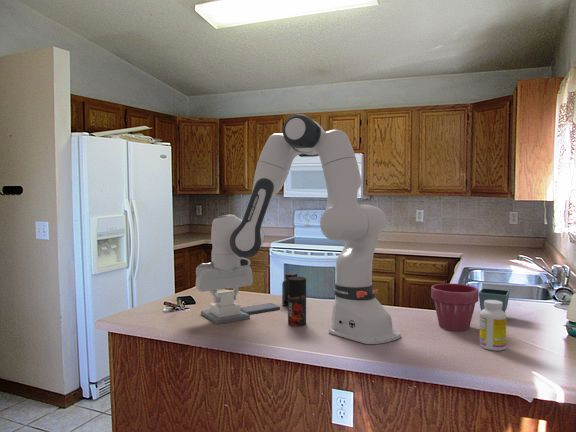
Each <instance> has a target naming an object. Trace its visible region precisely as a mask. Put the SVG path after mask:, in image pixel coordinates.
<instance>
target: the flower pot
mask: <svg viewBox="0 0 576 432" xmlns="http://www.w3.org/2000/svg"><path fill="white" fill-rule="evenodd" d="M478 293H479V300H478V302H479V307H480V312H481V311H482V310H483V309H485V306H484V301H485V300H497V301H501V302H502V303H503V307H502V311H504V312H505V313H506V311H507V308H508V305H509V300H510V290H507V289H505V290H504V289H495V288H485V287H484V288H483V287H482V288H481V289H480V290H479V291H478Z"/></svg>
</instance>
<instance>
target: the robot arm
mask: <svg viewBox="0 0 576 432" xmlns="http://www.w3.org/2000/svg"><path fill="white" fill-rule="evenodd" d="M297 156H299V157H300V158H307V157H308V158H310V157H312V158H314V157H319V159H320V163H321V168H322V172H323V175H324V180H325V185H326V191H327V199H326V200H327V201H326V202H327V203H326V207H325V210H324V212H322V214H321V217H320V221H319V226H320V230H321V232H322V235H323V236H324V237H325V238H326V239H328V240H332V241H336V242H345V244H344V246H343V249H342V250H341V252H340V253H339V254H338V256H337V258H336V260H335V263H336V265H335V266H336V267H335V268H336V270H335V275H336V276H335V280H336V281H335V283H334V287H333V290H334V295H335V300H334V303H333V305H332V314H331V325H330V328H329V329H328V333H329V334H331V335H334V336H338V337H341V338H345V339H348V340H350V341H351V340H352V341H356V342H357V343H361V344H365V345H377V344H385V343H390V342H393V341H396V340H398V339H399V338H400V337H401V335H402V334H401V332H399V331H397V330H395V329H394V328H393V321H392V316H391V313H389V312H388V311H387V309H385V308H384V306H383V305H382V303H381V302H380V301H379V300H378V299H377V298H376V297H377V295H376V294H378V293H379V292H378V291H379V289H375V287H374V284H373V281H372V278H373V258H374V254H375V249H376V247H377V244H378V240H379V238H380V236H381V234H382V233H383V232H384V231H385V228H386V226H387V217H386V214H385V212H384V211H383V210H382V209H381V208H380V207H378V206H374V205H371V204H367V203H366V204H359V203H358V192H359V189H360V188H361V186H362V182H363V180H362V176H361V173H360V169H359V165H358V161H357V157H356V154H355V151H354V148H353V145H352V143H351V141H350V139H349V137H348V135H347V133H346V132H344V131H343V130H340V129H331V130H326V129H325V128H323V126H321V125H320V124H319V122H317V121H315V120H314V119H312V118H311V117H309V116H307V115H305V114H293V115H292V116H290V117H288V118H287V119H286V120H285V122H284V124H283V127H282V133H278V132H277V133H273V134H271V135H269V137H268V139H267V141H266V142H265V144H264V146H263V148H262V150H261V153H260V155H259V157H258V161H257V164H256V167H255V173H254V178H253V184H252V190H251V195H250V199H249V201H248V203H247V207H246V209H245V212H244V216H243V218H242V219H241V218H239V217H238V216H236V215H235V214H223V215H220V216H216V217H215V218H214V219H213V220H212V223H211V224H212V225H211V233H210V235H211V237H210V239H211V240H210V241H211V244H212V249H211V255H210V256H211V262H207V263H200V264H199V265H197V267H196V268H195V276H196V277H195V278H196V279H195V289H196V291H198V292H200V293H201V292H202V293H203V292H204V293H205V292H210V294H211V296H212V297H213V303H219V302H220V301H219V300H220V298H219V297H217V296H216V293H217V292H218V291H219V290H225V289H232V290H233V291H232V292H233V293H234V301H236V300H237V295H238V293H239V291H240V288H242V287H249V286H252V285H253V283H254V281H253V280H254V278H253V269H252V268H251V266H250V265H251V264H252V263H251V260H250V259H249V258H251V257H254V256H255V255H257V254H258V252H259V251H260V249H261V247H262V246H263V245H264V242H265V233H264V230H263V229H262V225H263V222H264V219H265V217H266V214H267V211H268V208H269V206H270V203H271V201H272V200H273V199H274V197H275V196H276V195H277V194H278V193H279V192H280V191H281V189H282V187H283V186H284V184H285V183H286V180H287V178H288V175H289V174H290V169H291V167H292V164H293V161H294V160H295V158H296V157H297Z"/></svg>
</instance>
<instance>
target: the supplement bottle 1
mask: <svg viewBox="0 0 576 432" xmlns="http://www.w3.org/2000/svg"><path fill="white" fill-rule="evenodd" d="M298 275H299V274H298V273H296V272H285V274H284V280H283V281H282V283H281V284H282V285H281V304H282V305H283V306H284V307H288V278H289V277H299V276H298Z"/></svg>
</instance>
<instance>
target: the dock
mask: <svg viewBox="0 0 576 432" xmlns="http://www.w3.org/2000/svg"><path fill="white" fill-rule="evenodd" d="M240 308H241V305H240V304H239V303H237V302H235V301H234V305H233V306H227V307H219V306H217V305H216V303H214V302H211V303H209V309H206V310H205V309H203V310H200V315H202V316H203V317H205V318H207V319H208V320H210V321H211V322H213V323H214V324H216V325H219V324H225V323H226V324H227V323H232V322H237V321H243V320H249V319H251V318H250V315H251V314H247V313H245V312H243V311H241V310H240Z"/></svg>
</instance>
